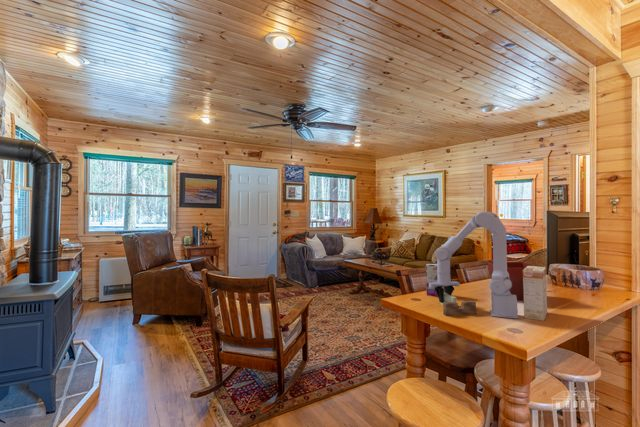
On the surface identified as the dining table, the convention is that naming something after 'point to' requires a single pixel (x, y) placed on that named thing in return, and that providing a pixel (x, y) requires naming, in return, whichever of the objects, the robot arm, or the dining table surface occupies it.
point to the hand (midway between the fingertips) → (444, 302)
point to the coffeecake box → (535, 292)
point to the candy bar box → (431, 278)
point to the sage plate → (448, 298)
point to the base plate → (453, 309)
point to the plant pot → (514, 277)
